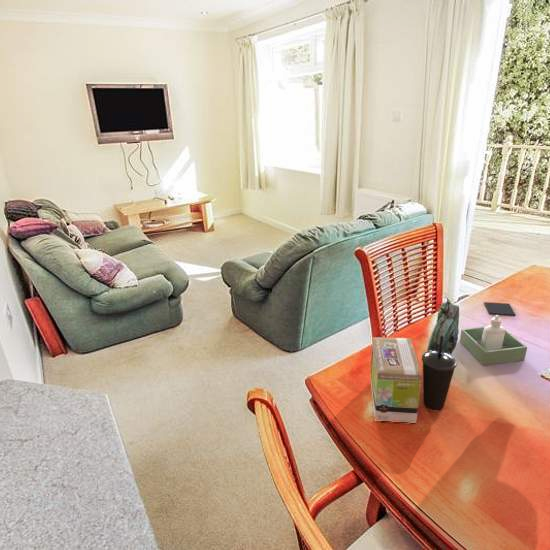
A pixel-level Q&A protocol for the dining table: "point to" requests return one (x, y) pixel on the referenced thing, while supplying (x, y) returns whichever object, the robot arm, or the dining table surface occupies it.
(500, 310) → the coaster
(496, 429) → the dining table surface
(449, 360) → the drinking cup
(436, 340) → the dark green backpack
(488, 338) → the eye dropper bottle
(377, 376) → the tea box
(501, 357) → the crate
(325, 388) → the dining table surface
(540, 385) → the dining table surface
